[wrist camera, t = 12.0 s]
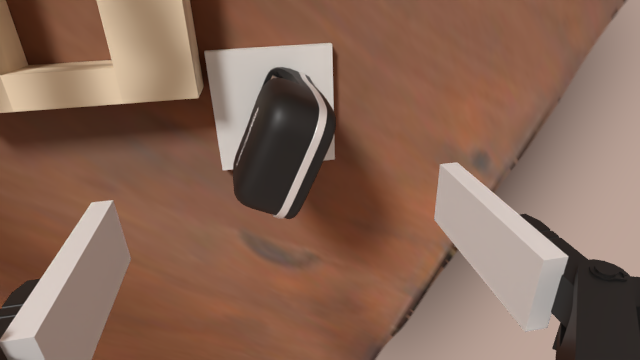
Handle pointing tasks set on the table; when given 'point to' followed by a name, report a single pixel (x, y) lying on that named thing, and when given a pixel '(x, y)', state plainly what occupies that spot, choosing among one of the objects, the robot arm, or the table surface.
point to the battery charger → (283, 144)
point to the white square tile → (258, 85)
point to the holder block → (109, 61)
